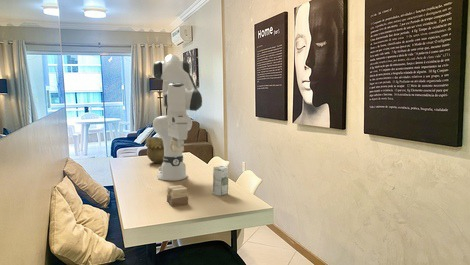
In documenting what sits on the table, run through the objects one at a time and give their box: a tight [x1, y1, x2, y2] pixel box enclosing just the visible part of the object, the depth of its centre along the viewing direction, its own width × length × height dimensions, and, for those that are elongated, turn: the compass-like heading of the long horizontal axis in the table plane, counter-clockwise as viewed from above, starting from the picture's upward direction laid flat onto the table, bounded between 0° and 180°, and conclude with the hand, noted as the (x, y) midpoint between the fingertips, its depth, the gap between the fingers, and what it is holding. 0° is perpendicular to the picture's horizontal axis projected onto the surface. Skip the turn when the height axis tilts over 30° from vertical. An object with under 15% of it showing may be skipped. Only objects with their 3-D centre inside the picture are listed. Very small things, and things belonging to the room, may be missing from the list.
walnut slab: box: [166, 194, 189, 208], centre depth 170 cm, size 8×8×4 cm
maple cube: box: [171, 140, 185, 152], centre depth 167 cm, size 5×5×5 cm
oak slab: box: [167, 184, 188, 199], centre depth 169 cm, size 7×7×4 cm
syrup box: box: [212, 165, 229, 197], centre depth 185 cm, size 6×6×14 cm
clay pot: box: [145, 136, 164, 164], centre depth 267 cm, size 21×21×20 cm
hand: (177, 147), depth 167 cm, fingers closed on maple cube, 5 cm apart
